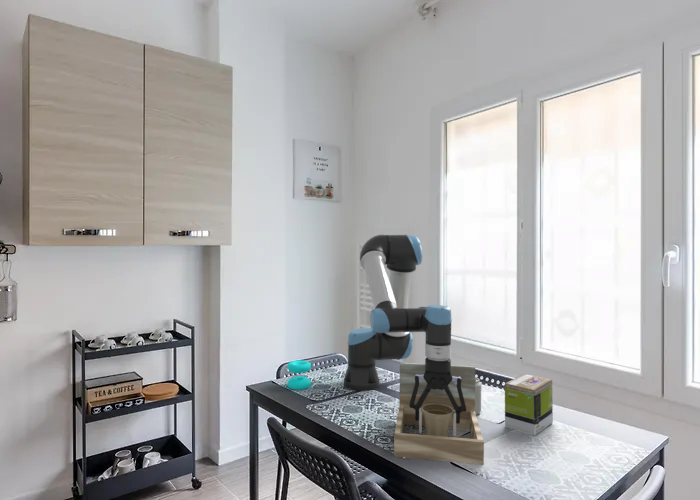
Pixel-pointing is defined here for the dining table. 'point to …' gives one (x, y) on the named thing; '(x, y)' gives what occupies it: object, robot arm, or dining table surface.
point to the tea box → (528, 404)
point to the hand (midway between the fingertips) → (437, 432)
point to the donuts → (299, 381)
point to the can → (477, 396)
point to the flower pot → (437, 419)
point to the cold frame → (450, 446)
